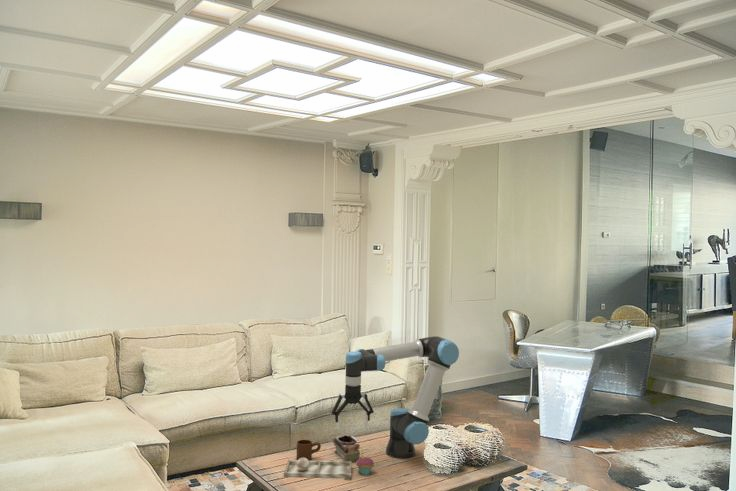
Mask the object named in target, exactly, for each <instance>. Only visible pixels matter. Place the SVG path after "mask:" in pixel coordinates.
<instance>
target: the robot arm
mask: <svg viewBox="0 0 736 491" xmlns="http://www.w3.org/2000/svg"><path fill="white" fill-rule="evenodd" d="M459 356H460V349H459V347H458V345H457V344H456V343H455V342H454V341H451V340H449V339H446V338H443V337H441V336H427V337H422V338H417V339H415V341H411V342H405V343H404V342H403V343H400V344H394V345H386V346H381V347H375V348H368V349H364V348H358V349H357V350H356V351H354V350H353V351H348V352H347V353H346V354H345V380H344V381H345V387H344V388H345V389H344V394H340V393H339V394H338V397H337V398H338V399H337V400H336V402H335V404H334V406H333V408H332V410H331V414H332V415H333V416H334V422H335V423H336V426H337V430H339V431H340V425H341V423H340V422H341V421H340V420H341V416H340V413H342V412H343V410H344V409H346V406H348V405H357V404H359V406H361V408H362V409H363V411H365V412H366V413H365V415H364V428H365V429H368V425H369V424H368V422H369V421H370V420H371V414H375V413H374V409H373V407H372V405H371V403H370V401H369V399H368V398H369V397H368V394H367V393H363V394H362V385H361V384H362V372H375V371H376V372H378V371H383V370H384V369H385V367H386V362H391V361H396V360H403V359H409V358H414V357H419V358H428V359H427V361H428V367H427V370H426V372H425V375H424V378H423V380H422V382H421V385H420V387H419V390H418V392H417V395H416V397H415V400H414V403H413V405H412V408H406V407H405V408H395V409H394V408H393V409H392V410H391V411H390V415H389V417H390V418H389V439H388V442H387V445H386V448H385V454H386V455H387V456H389V457H392V458H396V459H409V458H413V457H414V456H415V455H416V449H415V445H420V444H422V443H424V442H425V441H426V440H427V438H429V437H428V436H429V433H430V430H429V427H428V425H429V422H430V418H429V414H430V411H431V409H432V406H433V403H434V401H435V399H436V396H437V393H438V390H439V388H440V385H441V382H442V380H443V378H444V375H445V373H446V371H449V370H450V369H451V366H452V365H454V364H455V363H456V362H457V361H458V359H459V358H460V357H459ZM362 398H363V400H365V403H366V405H367V407H368V408H367V407H366V406H365V404H363V402H362V401H361V399H362ZM343 399H345V400H344V401H343V402H342V400H343ZM341 402H342V404H341ZM340 404H341V405H340Z"/></svg>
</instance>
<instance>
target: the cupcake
mask: <svg viewBox="0 0 736 491" xmlns="http://www.w3.org/2000/svg"><path fill="white" fill-rule="evenodd" d="M360 453H361V457H359V459H358V460H355V461H356V462H355V465H356V467H357V468H358V471H359V474H360V475H363V476H364V475H369V474H370V472H371V470H372V468H373V467H374V465H375V462H374V460H373V459H372V458H370V457H367V456H364V450H363V448H361V451H360Z"/></svg>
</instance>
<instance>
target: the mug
mask: <svg viewBox="0 0 736 491" xmlns="http://www.w3.org/2000/svg"><path fill="white" fill-rule="evenodd" d="M316 446H317V447H316ZM313 447H316V448H313ZM321 448H322V444H321V443H320V442H318V441H314V442H313V441H312V440H310V439H300V440H297V441H296V460H297V461H298V460H299V459H300V458H303V457H304V458H306V459H308V461H312V459H313V458H312V457H313V454H314V453H317V452H319V451H320V450H321Z"/></svg>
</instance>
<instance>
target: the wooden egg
mask: <svg viewBox="0 0 736 491" xmlns="http://www.w3.org/2000/svg"><path fill="white" fill-rule="evenodd" d="M308 467H309V461H308V459H306V458H304V457H303V458H300V459H299V460H298V461H297V468H298V469H299V470H301V471H305V470H307V469H308Z"/></svg>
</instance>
